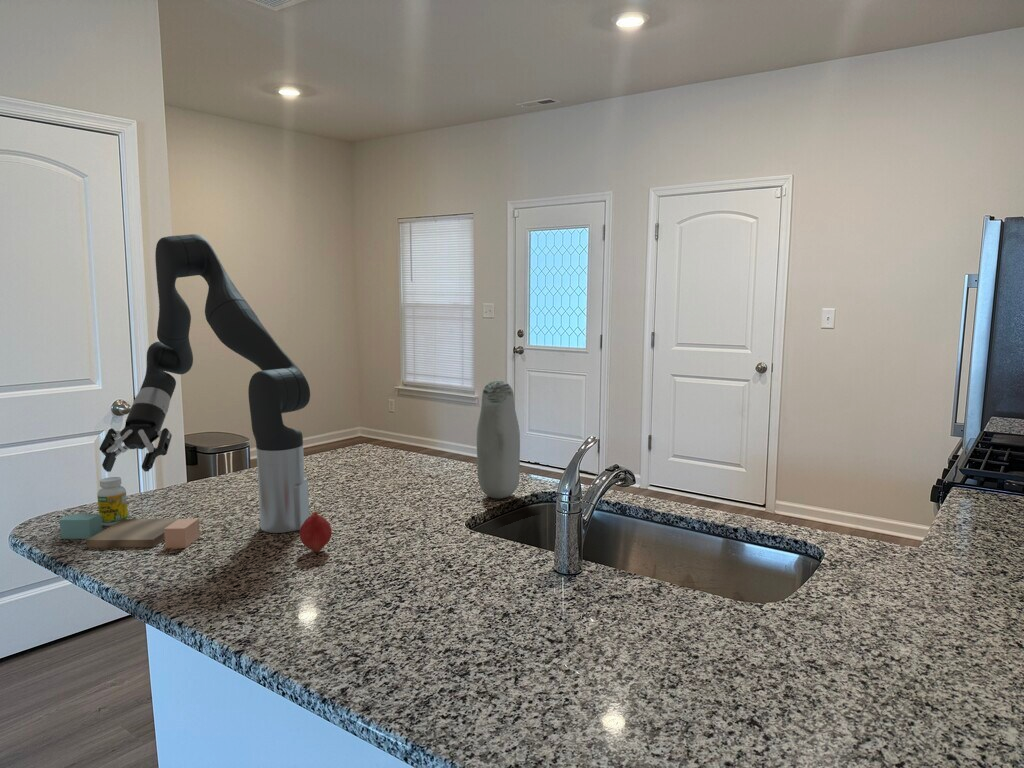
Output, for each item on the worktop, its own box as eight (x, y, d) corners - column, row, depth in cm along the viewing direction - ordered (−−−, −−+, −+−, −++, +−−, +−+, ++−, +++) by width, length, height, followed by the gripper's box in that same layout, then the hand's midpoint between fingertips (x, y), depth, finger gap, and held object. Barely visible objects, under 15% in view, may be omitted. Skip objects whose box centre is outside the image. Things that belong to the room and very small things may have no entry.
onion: (293, 554, 128) (291, 512, 127) (315, 544, 133) (314, 504, 132) (317, 559, 126) (315, 517, 125) (338, 549, 131) (337, 508, 130)
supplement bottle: (132, 517, 151) (129, 475, 150) (122, 525, 146) (118, 481, 145) (106, 519, 150) (102, 476, 149) (95, 527, 145) (91, 482, 144)
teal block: (102, 532, 142) (101, 513, 142) (90, 539, 138) (88, 519, 138) (74, 532, 142) (72, 513, 142) (61, 539, 138) (59, 519, 138)
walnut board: (185, 525, 146) (184, 518, 146) (153, 547, 133) (153, 539, 133) (123, 525, 146) (123, 519, 145) (86, 547, 133) (85, 540, 133)
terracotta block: (180, 538, 138) (178, 518, 138) (200, 537, 138) (198, 518, 138) (165, 548, 132) (164, 528, 132) (186, 548, 132) (184, 528, 132)
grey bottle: (472, 494, 167) (470, 380, 164) (511, 489, 171) (510, 378, 167) (485, 505, 158) (483, 384, 155) (526, 500, 161) (525, 382, 158)
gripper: (111, 401, 160) (85, 461, 150) (172, 401, 160) (150, 460, 150) (126, 420, 166) (101, 478, 156) (185, 419, 166) (164, 478, 156)
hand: (125, 469), depth 153 cm, fingers open, 8 cm apart
